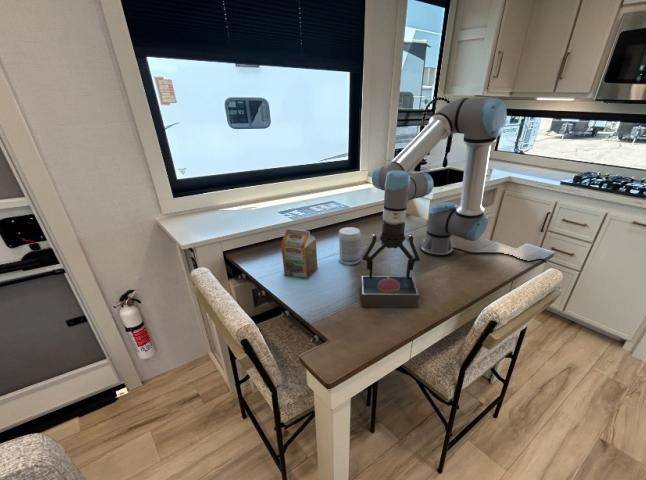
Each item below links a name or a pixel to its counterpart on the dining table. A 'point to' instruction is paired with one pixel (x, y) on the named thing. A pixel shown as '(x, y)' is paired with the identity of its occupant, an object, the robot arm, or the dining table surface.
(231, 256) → the dining table surface
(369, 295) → the open rectangular bin
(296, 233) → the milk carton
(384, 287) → the cupcake
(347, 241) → the supplement tub
